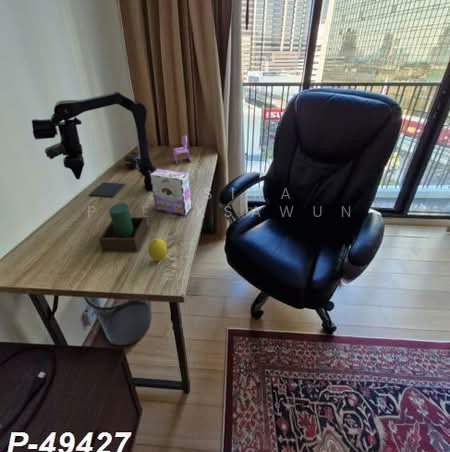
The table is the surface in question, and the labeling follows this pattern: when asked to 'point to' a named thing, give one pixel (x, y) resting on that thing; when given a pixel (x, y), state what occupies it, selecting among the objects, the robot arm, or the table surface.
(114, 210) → the tea tin
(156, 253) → the lemon
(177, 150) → the toy chair
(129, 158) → the end cap
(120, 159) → the table surface
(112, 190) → the mat
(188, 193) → the candy box
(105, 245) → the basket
